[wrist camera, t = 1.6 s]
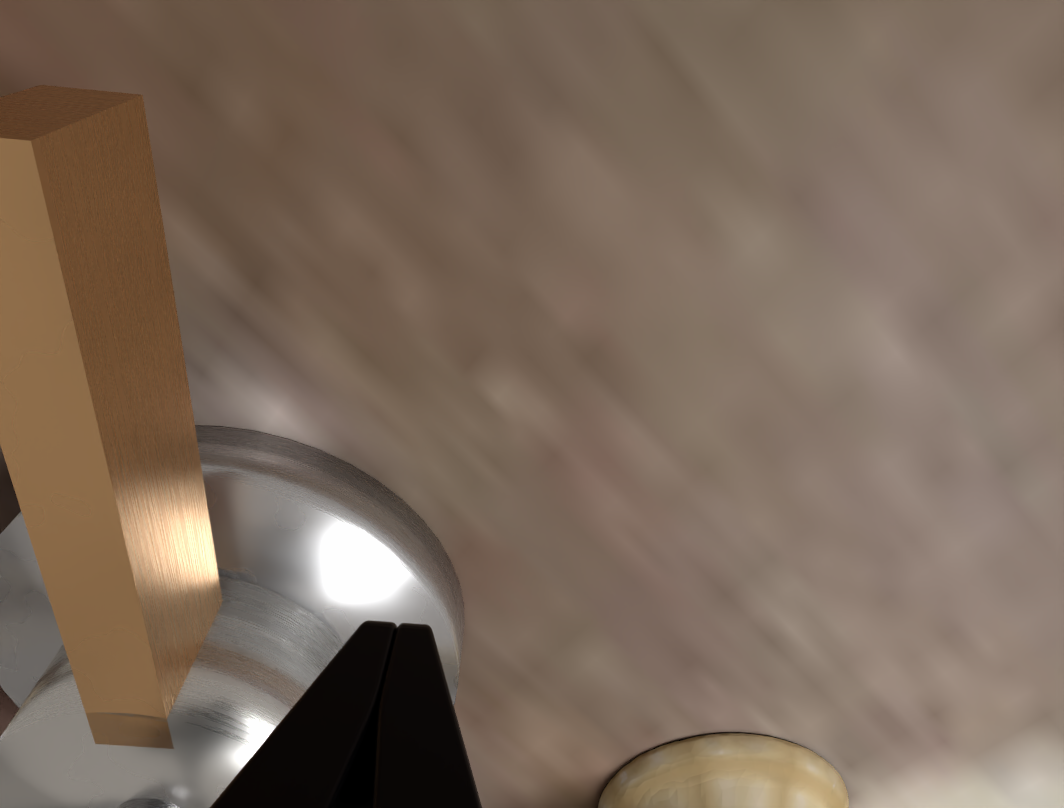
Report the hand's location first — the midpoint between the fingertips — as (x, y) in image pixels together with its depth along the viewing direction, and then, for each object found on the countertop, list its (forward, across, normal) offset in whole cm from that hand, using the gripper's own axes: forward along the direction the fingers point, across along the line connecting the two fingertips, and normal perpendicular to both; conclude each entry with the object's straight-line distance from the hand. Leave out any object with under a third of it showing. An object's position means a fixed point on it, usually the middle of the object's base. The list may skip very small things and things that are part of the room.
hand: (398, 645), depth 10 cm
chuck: (+6, +6, +4) cm, 9 cm away
